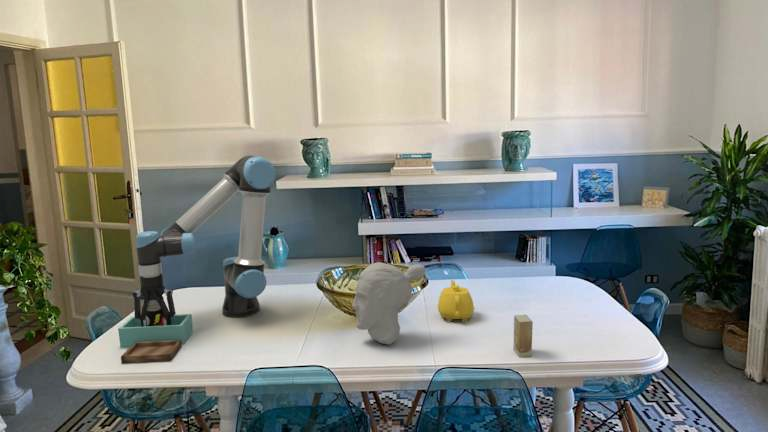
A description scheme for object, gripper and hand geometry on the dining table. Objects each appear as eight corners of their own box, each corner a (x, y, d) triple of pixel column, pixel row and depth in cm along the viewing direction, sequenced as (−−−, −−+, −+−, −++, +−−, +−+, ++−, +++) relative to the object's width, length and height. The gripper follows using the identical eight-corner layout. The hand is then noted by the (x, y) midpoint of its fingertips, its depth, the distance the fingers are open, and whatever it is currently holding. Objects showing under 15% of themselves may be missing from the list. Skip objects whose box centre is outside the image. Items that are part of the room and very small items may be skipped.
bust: (351, 335, 203) (348, 260, 198) (421, 328, 207) (420, 255, 203) (356, 351, 189) (352, 271, 184) (431, 344, 193) (430, 265, 188)
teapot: (439, 325, 210) (439, 293, 208) (436, 308, 230) (435, 277, 227) (476, 325, 209) (476, 292, 207) (469, 307, 229) (469, 277, 227)
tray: (181, 346, 198) (181, 339, 197) (170, 361, 186) (170, 354, 186) (135, 348, 197) (134, 342, 197) (121, 363, 185) (120, 356, 185)
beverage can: (153, 336, 208) (149, 305, 206) (169, 336, 208) (166, 305, 206) (145, 343, 202) (142, 311, 200) (162, 342, 202) (159, 310, 200)
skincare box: (512, 349, 187) (513, 314, 185) (525, 348, 187) (526, 313, 185) (519, 357, 180) (519, 321, 178) (532, 356, 181) (532, 320, 179)
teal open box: (193, 331, 212) (191, 314, 210) (183, 344, 200) (181, 325, 198) (133, 334, 210) (131, 316, 209) (120, 347, 199) (118, 328, 197)
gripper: (181, 270, 205) (187, 330, 209) (127, 273, 204) (134, 333, 208) (175, 276, 198) (181, 338, 202) (119, 278, 197) (126, 341, 201)
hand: (157, 335), depth 205 cm, fingers open, 6 cm apart
